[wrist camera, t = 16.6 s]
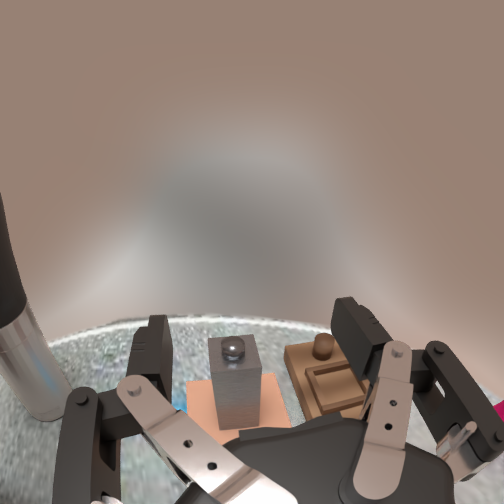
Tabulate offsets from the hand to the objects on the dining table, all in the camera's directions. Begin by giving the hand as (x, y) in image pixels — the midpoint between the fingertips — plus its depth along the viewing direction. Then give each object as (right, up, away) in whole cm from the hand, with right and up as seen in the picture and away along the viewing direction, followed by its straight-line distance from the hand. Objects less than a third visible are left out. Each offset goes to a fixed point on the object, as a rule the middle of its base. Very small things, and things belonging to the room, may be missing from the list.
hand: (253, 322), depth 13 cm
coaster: (-2, -19, +21) cm, 28 cm away
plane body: (+12, -18, +23) cm, 32 cm away
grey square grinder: (-2, -18, +21) cm, 27 cm away
